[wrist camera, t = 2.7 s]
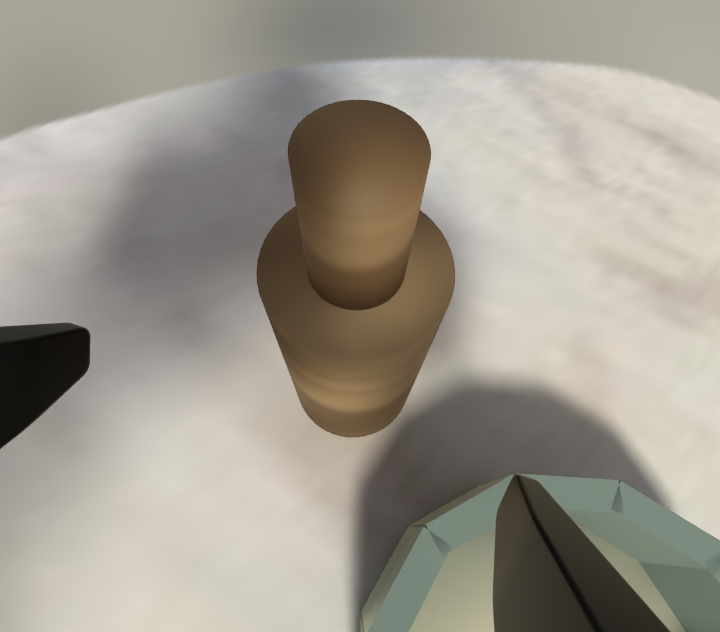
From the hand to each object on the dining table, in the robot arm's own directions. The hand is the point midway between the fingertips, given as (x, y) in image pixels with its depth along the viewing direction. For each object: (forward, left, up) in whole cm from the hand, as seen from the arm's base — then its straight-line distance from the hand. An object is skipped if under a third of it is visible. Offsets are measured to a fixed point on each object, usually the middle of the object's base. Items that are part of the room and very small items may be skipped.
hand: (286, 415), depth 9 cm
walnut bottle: (+3, -3, -11) cm, 12 cm away
